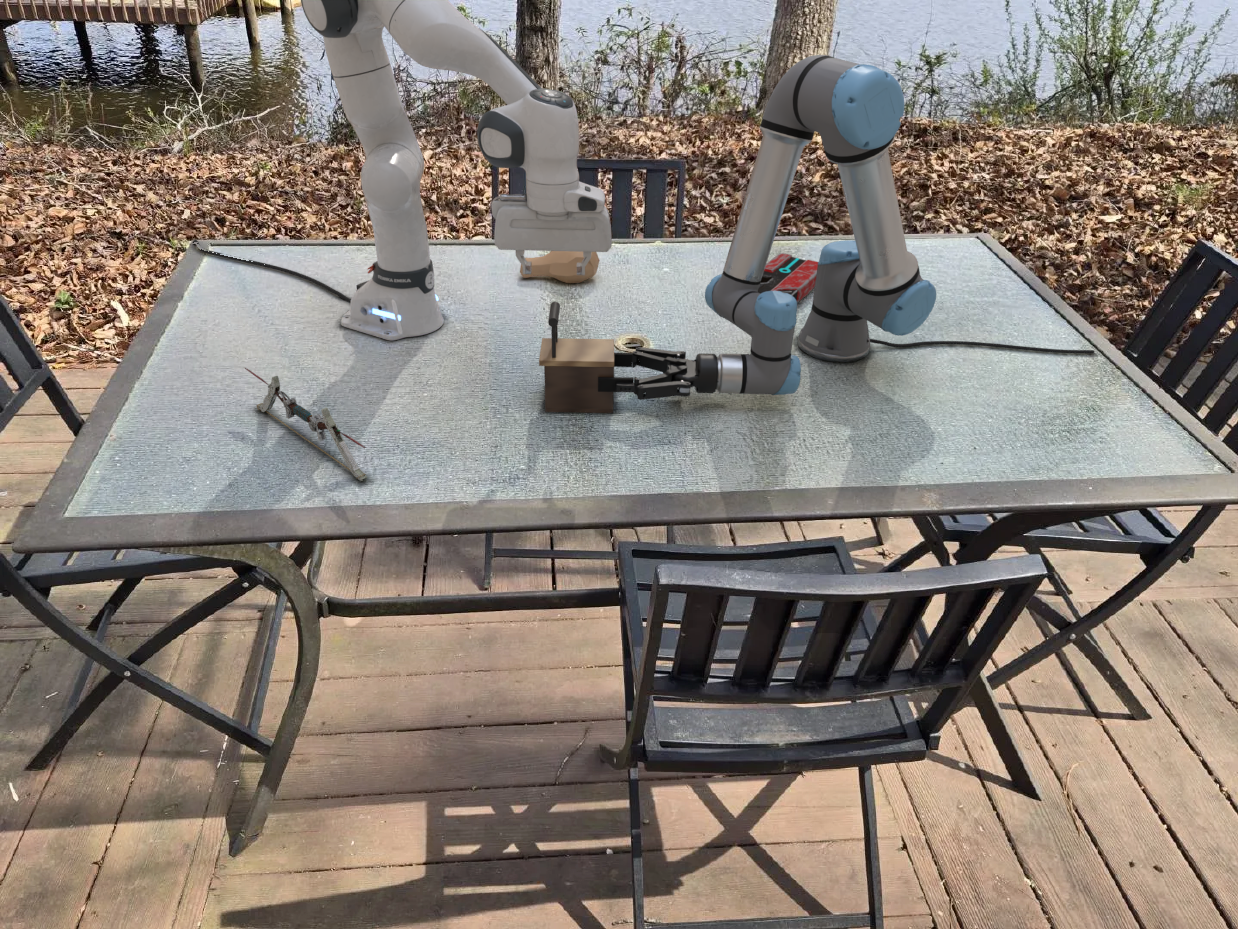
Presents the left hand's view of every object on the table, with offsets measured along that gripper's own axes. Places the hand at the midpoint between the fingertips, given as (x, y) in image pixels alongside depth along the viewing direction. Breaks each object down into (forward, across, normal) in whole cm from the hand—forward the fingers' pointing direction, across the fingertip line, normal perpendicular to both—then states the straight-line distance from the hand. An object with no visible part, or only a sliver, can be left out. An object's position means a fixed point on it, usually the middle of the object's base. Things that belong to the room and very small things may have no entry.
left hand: (554, 273), depth 155 cm
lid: (+16, +4, 0) cm, 16 cm away
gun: (+26, +50, +56) cm, 79 cm away
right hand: (+19, +8, 0) cm, 21 cm away
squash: (+26, -2, +62) cm, 67 cm away
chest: (+26, +5, 0) cm, 26 cm away
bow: (+26, -42, -17) cm, 52 cm away
